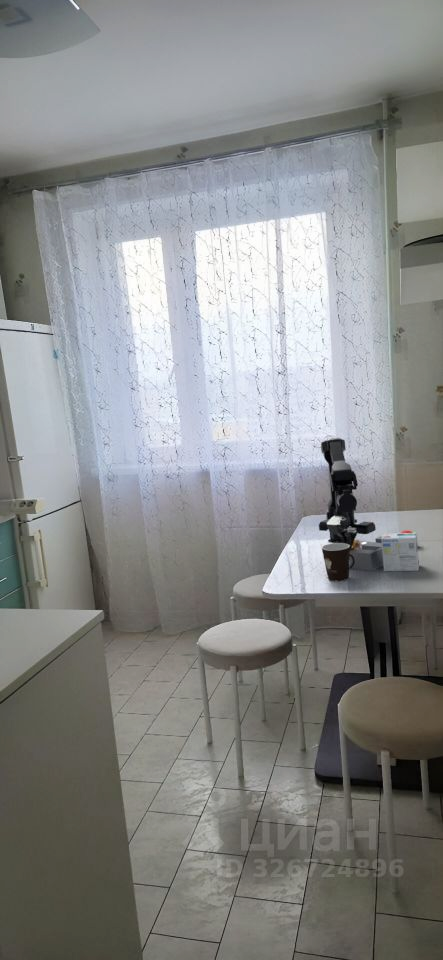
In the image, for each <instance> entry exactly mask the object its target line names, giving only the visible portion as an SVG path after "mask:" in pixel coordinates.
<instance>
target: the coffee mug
mask: <svg viewBox="0 0 443 960" xmlns="http://www.w3.org/2000/svg"><path fill="white" fill-rule="evenodd" d="M321 551H322V557H323V561H324V566H325V569H326V570H325V571H326V575H327V576H326V577H327V579H328V581H331V582H342V580H343V581H346V580H348V579H349V578H350V570H351V568H352V567H353V565H354V563H355V560H354V557H353V555H351V554H350V545H349V544H345V543H343V542H342V543H341V542H332V543H329V544H328V543H327V544H323V545H322V546H321ZM350 556H351V558H352V560H353V563H352V565H351V566H350V561H349V557H350Z"/></svg>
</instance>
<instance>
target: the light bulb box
mask: <svg viewBox="0 0 443 960" xmlns="http://www.w3.org/2000/svg"><path fill="white" fill-rule="evenodd" d="M381 536H382V538H381V543H382V555H383V565H382V567H383V572H407V571H408V572H415V571H416V572H418V571H419V568H420V557H419V545H418V543H419V542H418V534H417V532H413V533H401V532H399V533H397V532H396V533H383V534H382V535H381Z"/></svg>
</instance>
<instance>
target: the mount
mask: <svg viewBox="0 0 443 960" xmlns="http://www.w3.org/2000/svg"><path fill="white" fill-rule="evenodd" d="M382 536H383V535H380V536H378V537H376V538H375V542H373V541H368V543H366V544H363V545H362V549H353V550H351V551H350V554H351V555H353V557H354V560H355V563H354V565H353V567H352V568H351V569H353V570H354V569H355V570H362V571H369V572H373V571H374V570H376V569H378V568H380V567H383V555H382V543H381V538H382ZM352 563H353V560H352V558H351V556H350V557H349V567H350V566H351V565H352ZM351 569H350V570H351Z"/></svg>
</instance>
